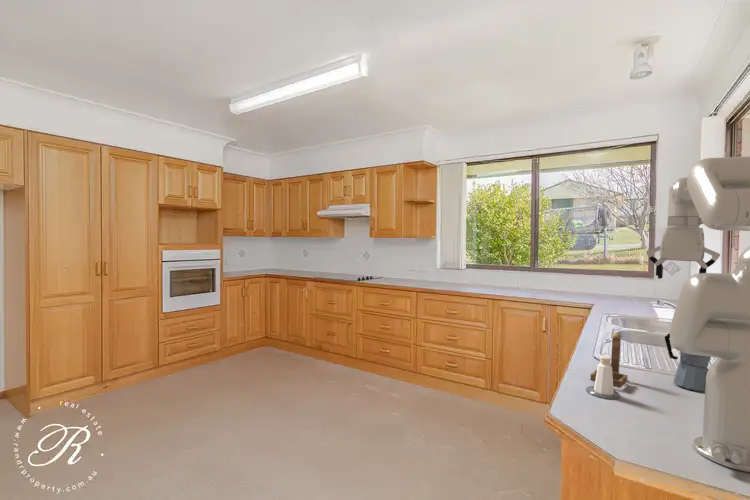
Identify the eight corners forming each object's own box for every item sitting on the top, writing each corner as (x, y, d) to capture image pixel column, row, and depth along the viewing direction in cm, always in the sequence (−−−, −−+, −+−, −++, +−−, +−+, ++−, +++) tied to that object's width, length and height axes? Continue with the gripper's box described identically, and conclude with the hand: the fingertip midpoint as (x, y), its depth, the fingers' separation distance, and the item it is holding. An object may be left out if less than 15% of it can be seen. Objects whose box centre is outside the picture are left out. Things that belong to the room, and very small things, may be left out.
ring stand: (620, 391, 121) (622, 341, 121) (590, 383, 127) (592, 335, 127) (630, 380, 131) (633, 334, 130) (602, 373, 137) (604, 329, 136)
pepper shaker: (615, 392, 119) (617, 357, 119) (611, 397, 115) (613, 361, 115) (596, 387, 123) (598, 353, 122) (591, 391, 119) (593, 356, 118)
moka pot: (726, 395, 120) (730, 332, 119) (671, 390, 123) (674, 328, 122) (707, 384, 129) (710, 325, 129) (655, 379, 133) (659, 322, 132)
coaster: (615, 402, 113) (615, 400, 113) (581, 392, 119) (582, 390, 119) (623, 393, 119) (623, 392, 119) (591, 385, 126) (591, 383, 126)
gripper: (723, 223, 111) (719, 282, 112) (650, 223, 123) (647, 276, 124) (721, 222, 106) (717, 284, 106) (645, 222, 118) (642, 278, 119)
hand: (679, 280), depth 115 cm, fingers open, 9 cm apart
